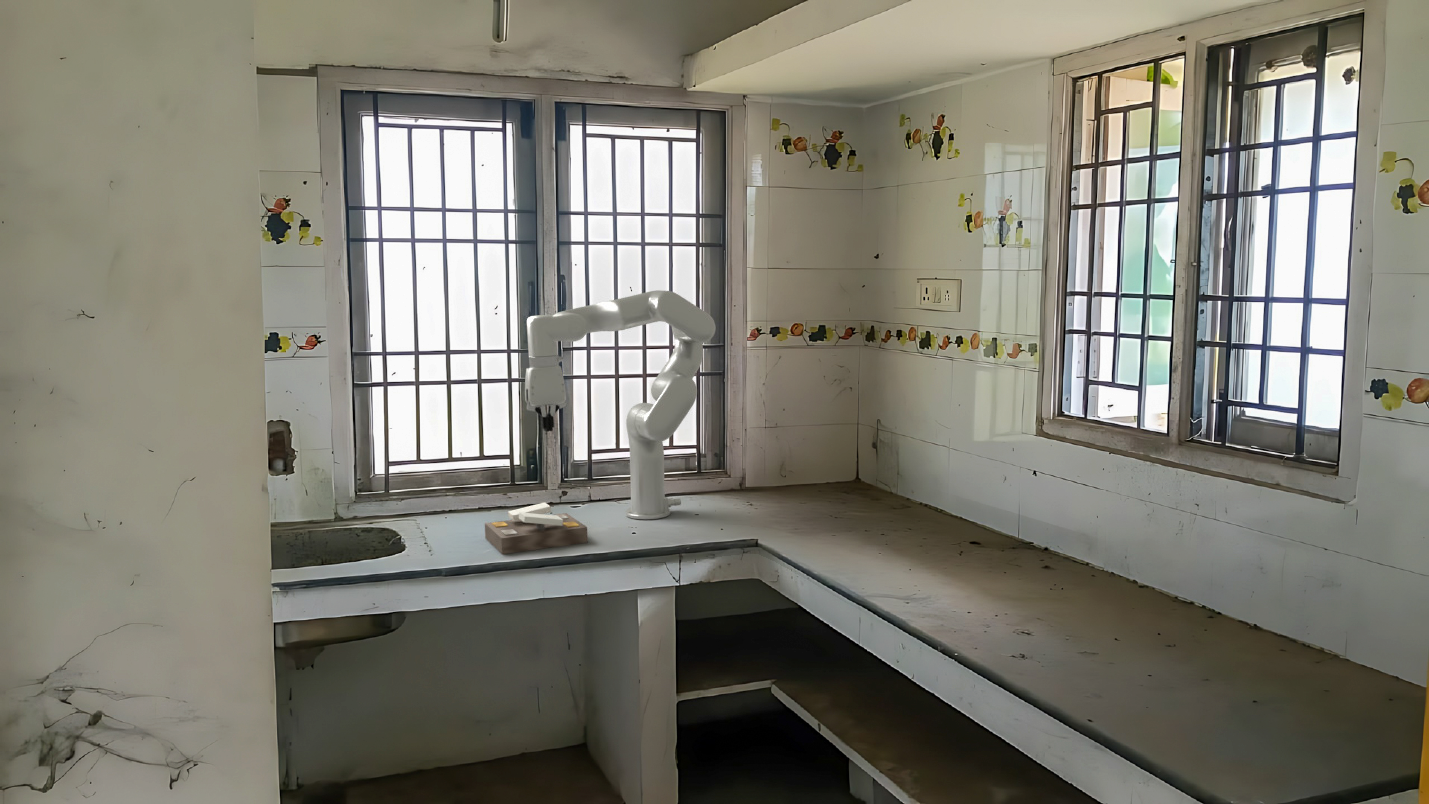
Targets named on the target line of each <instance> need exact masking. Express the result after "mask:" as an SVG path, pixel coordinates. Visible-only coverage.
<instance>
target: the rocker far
mask: <svg viewBox="0 0 1429 804" xmlns="http://www.w3.org/2000/svg"><path fill="white" fill-rule="evenodd" d="M551 507H552V506H550V505H549V504H548V503H546V501H545V502H541V503H538V504H533V505H530V506H525V507H521V508H517V509H513V510H508V511H507V514H508V518H509V519H510V520H513V521H517V520H520V519H519V513H520V512H522V513H533V514H544V515H545V514H547V513H552V508H551Z"/></svg>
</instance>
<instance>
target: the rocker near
mask: <svg viewBox="0 0 1429 804" xmlns="http://www.w3.org/2000/svg"><path fill="white" fill-rule="evenodd" d="M519 519H520V520H522V521H523V522H526V523H537V524H549V525H560V526H562V525H563V519H561V518H560V517H558V516H555V514H545V513H544V514H533V513H522V512H520V513H519Z"/></svg>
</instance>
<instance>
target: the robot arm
mask: <svg viewBox="0 0 1429 804" xmlns="http://www.w3.org/2000/svg"><path fill="white" fill-rule="evenodd" d="M658 322H665V324H667V325H669V326H670V327H671V330H672V334H673V338H674V349H673V351H672V353H671V355H670V356H669V359H668V361H667V362H666V364H665V365H664V366H663V367H662V369H661V371H660V372H659V373H658V375H656V377H655V379H654V380H653V382H652V385H651V387H650V394H651V396H652V398H653V400H654V401H655V402H654V404H653V403H648V402H640V403H637V404H634V405H633V406H632V407H631V408H630V409H629V411H628V413H627V415H626V422H625V424H626V431H627V438H628V446H629V447H628V449H629V471H630V473H629V475H630V476H629V477H630V481H629V482H630V507H629V508H627V509H626V510H625V516H626V517H628V518H631V519H635V520H656V519H658V520H659V519H662V518H667V517H668V516H670V515H671V509H670V508H671V507H674V506H676V507H677V506H681V505H682V500H681V498H679V497H678V498H672V497H671V498H668V497H666V496H665V495H666V494H665V493H666V492H665V490H666V488H665V453H664V452H665V451H664V444H663V443H664V441H666V440H668V439H670V438H671V437H672V435H674V433H675V432H676V431H677V430H678V428H679V427H680V425H681V424H682V422H683V421H684V419H685V418H686V416H687V415H688V414H689V412H690V411H691V409H692V408H693V406H694V404H695V402H696V399H697V395H698V388H697V384H696V382H695V380H694V377H695V375H696V373H697V372H698V370H699V369H700V367H701V364H702V361H703V356H704V347H703V343H707V342H708V341H710V340H711V339H712V338H713V337H714V336H715V333H716V329H717V328H716V323H715V320H714V318H713V317H712V316H711V315H710V314H709V313H708V312H706V311H705V310H703V309H702V308H700V307H699V306H697V305H695V304H693V303H692V302H690V301H689V300H687V299H686V298H685V297H682V296H681V295H680V294H679V293H678V294H677V293H676V292H674V291H671V290H651V291H646V292H642V293H639V294H633V295H629V296H625V297H621V298H616V299H611V300H607V301H602V302H599V303H598V302H597V303H595V304H589V305H585V306H581V307H580V306H579V307H575V308H572V309H567V310H563V311H559V312H556V313H555V314H553V315H549V314H544V315H543V314H540V315H537V314H536V315H531V316H529V317H528V318H527V320H526V333H527V347H528V348H527V349H528V362H529V367H527V368H526V369H525V370H526V371H525V380H524V381H525V382H524V399H525V402H526V410H527V411H530V412H535V413H537V414H538V415H539V416H540V423H541V424H540V425H541V429H543V431H544V432H546V433H547V432H548V433H549V432H553V430H554V427H555V421H554V420H555V416H556V414H557V412H558V411H559V410H560V409H563V408H565V407H567V402H566V400H567V394H566V393H567V392H566V385H565V380H564V375H563V374H564V373H563V371H562V367H561V366H560V363H561V362H563V361H564V357H563V356H560V355H559V354H558V342H570V343H573V342H578V341H580V340H582V339H583V338H585V336H586V334H590V333H591V334H592V333H598V332H599V333H600V332H618V331H619V332H620V331H624V330H630V329H633V328H637V327H639V326H644V325H648V324H649V325H650V324H652V323H658ZM545 406H547V410H546V407H545Z"/></svg>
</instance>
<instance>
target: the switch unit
mask: <svg viewBox="0 0 1429 804" xmlns="http://www.w3.org/2000/svg"><path fill="white" fill-rule="evenodd" d="M554 515H555V516H558V517H560V518H561V519H563V525H562V526H560V525H549V524H537V523H526V522H523V521H522V520H517V521H513V520H512V519H508V520H500V521H492V522H484V535H485V536H484V537H485V540H486V541H487V542H489V543H490V544H491V545H492V546H493V548H495V549H496V550H497V551H498V552H499V553H500V554H501V555H507V554H513V553H521V552H529V551H533V550H534V551H535V550H542V549H543V550H544V549H549V548H557V547H558V548H559V547H564V546H566V547H567V546H573V545H579V544H587V543H588V542H589V540H588V527H587V525H585V524H583V523H582V522H580V521H579V520H577V519H576V518H575V517H573V516H571V515H570V514H568V513H567V512H565V513H557V514H556V513H555V514H554Z"/></svg>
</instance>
